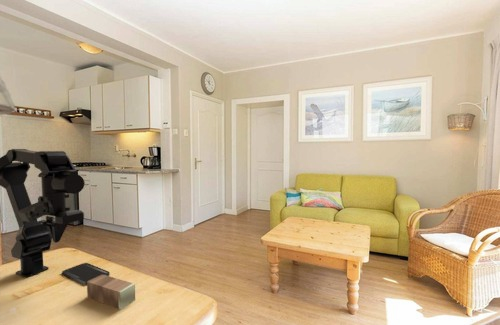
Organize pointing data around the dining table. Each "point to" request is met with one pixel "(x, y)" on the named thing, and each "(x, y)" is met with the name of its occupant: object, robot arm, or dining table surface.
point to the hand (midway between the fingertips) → (56, 242)
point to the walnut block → (111, 291)
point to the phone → (84, 273)
